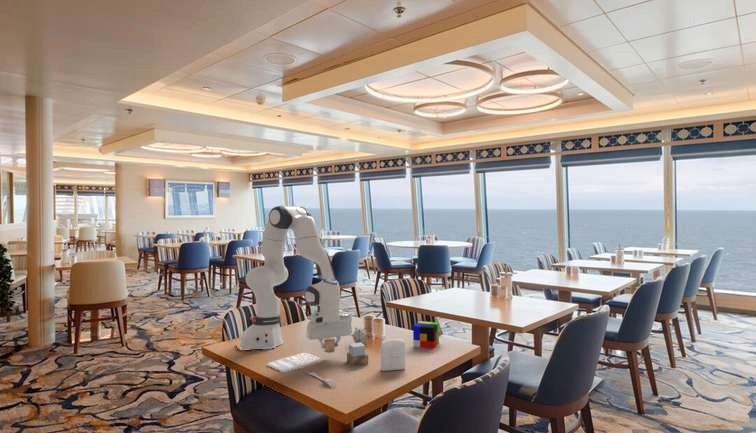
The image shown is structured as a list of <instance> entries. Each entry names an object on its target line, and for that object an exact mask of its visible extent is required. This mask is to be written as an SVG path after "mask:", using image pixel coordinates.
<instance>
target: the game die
mask: <svg viewBox="0 0 756 433" xmlns="http://www.w3.org/2000/svg"><path fill="white" fill-rule="evenodd" d="M354 328H355V330H354V332H352V333H353V334H351V335H350V337H352V338H353V341H354V343H359V342H361V343H362V344H364V345H365V346H366V342H367V339H369V337H370V335H368V334H367V330H366V327H364V328H357V327H354Z"/></svg>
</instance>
